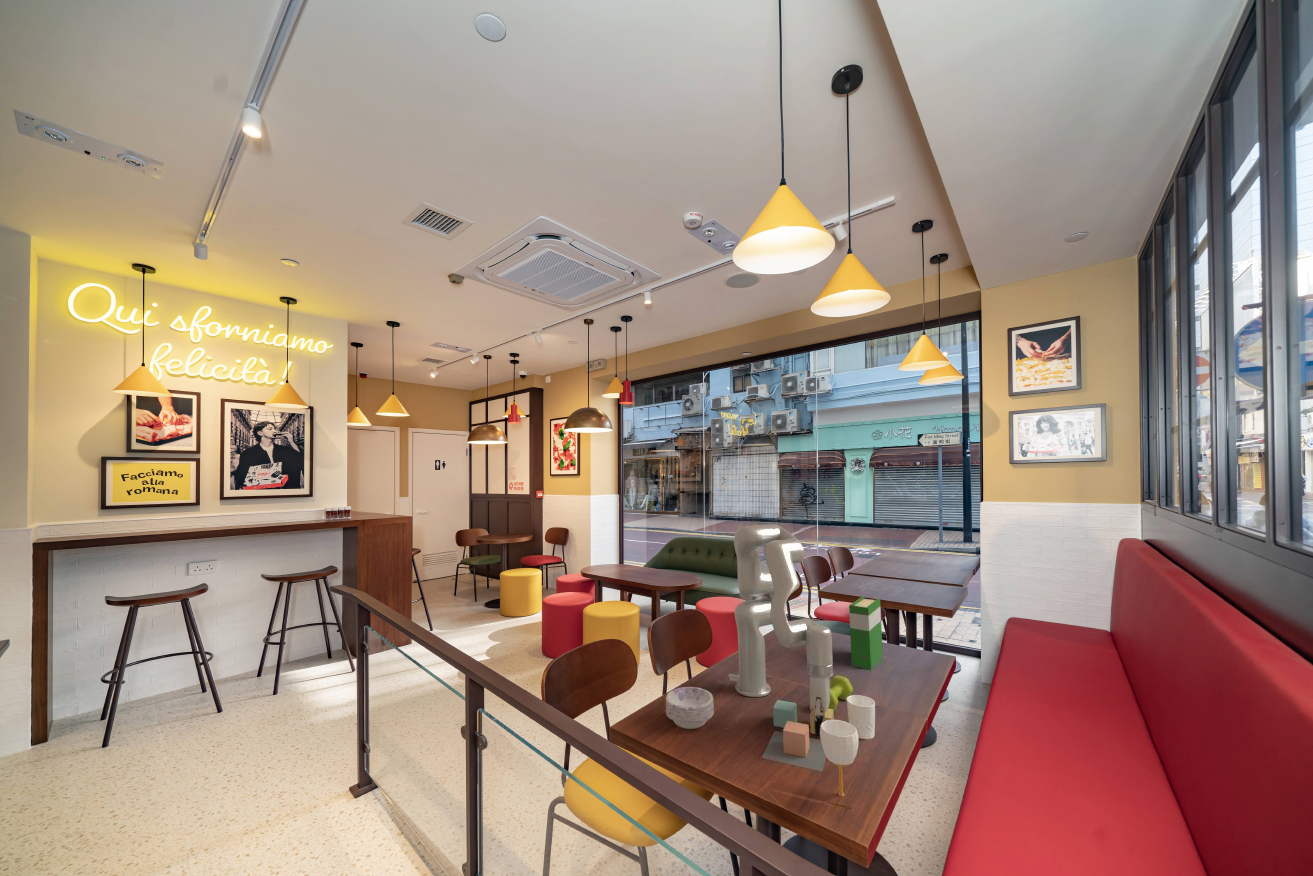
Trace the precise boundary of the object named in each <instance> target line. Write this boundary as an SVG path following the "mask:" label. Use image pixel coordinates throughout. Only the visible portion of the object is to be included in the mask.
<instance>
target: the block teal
mask: <svg viewBox="0 0 1313 876" xmlns="http://www.w3.org/2000/svg"><path fill="white" fill-rule="evenodd" d="M797 705H798V704H797V703H796V702H791V701H786V700H779V699H777V700H776V701H775V704H774V705H773V706H772V714H773V716H772V717H773V718H772V719H773V726H774V727H778V728H783V729H784V727H785V725H786V723H787V721H791V722H797V723H798V713H797V712H798V710H797V707H798V706H797Z"/></svg>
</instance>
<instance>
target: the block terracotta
mask: <svg viewBox="0 0 1313 876" xmlns="http://www.w3.org/2000/svg"><path fill="white" fill-rule="evenodd" d="M782 732H783V743H784V753H788V754H792V755H797V756H801V757H806V756H807V753H808V750H809V747H810V746H809V738H810V727H809V724H806V723H801V722H798V721H797V722H791V721H787V723H786V725H785V727H784V728H783V729H782Z"/></svg>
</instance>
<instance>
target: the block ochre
mask: <svg viewBox="0 0 1313 876" xmlns="http://www.w3.org/2000/svg"><path fill="white" fill-rule="evenodd" d="M821 710H823V708H821ZM834 714H835V713H834V711H833V709H828V710H827V712H825V721H827V720H835V716H834ZM821 715H822V716H823V713H821ZM809 723H810V727H809V730H810V734H814V735H816V734H815V708H814V710H811V709H810V713H809Z"/></svg>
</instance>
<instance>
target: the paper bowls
mask: <svg viewBox="0 0 1313 876" xmlns="http://www.w3.org/2000/svg"><path fill="white" fill-rule="evenodd" d="M665 712H666V713H665V714H666V716H667V718H668V719H669V720H672V721H673V722H674V724H675V725H676V726H677V727H680V728H682V729H686V730H691V729H692V730H693V729H699V728H701V727H703V726H704V725H705V724H706V723H707V721H709V720H710V719H712V718H713V715H714V714H715V707H714V696H713V694H712V693H711V692H710V691H709V690H706V689H704V688H702V687H696V686H683V687H678V688H675V689H672V690H670V691H669V692H668V693H667V694H666V697H665Z"/></svg>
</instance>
